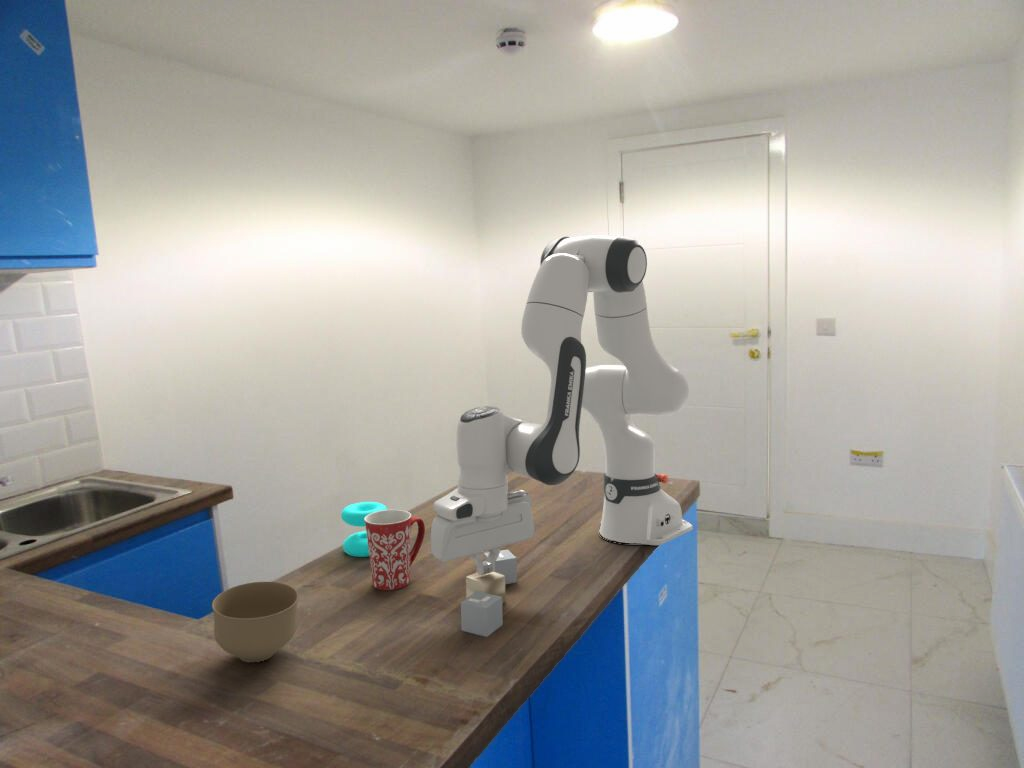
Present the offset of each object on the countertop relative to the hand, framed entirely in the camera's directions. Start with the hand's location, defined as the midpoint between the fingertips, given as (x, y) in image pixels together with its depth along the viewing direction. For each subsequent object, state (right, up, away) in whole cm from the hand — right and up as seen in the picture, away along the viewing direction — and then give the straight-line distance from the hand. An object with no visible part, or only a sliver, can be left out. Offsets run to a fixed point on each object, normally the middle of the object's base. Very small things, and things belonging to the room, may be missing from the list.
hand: (485, 572), depth 131 cm
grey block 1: (0, -7, -10) cm, 12 cm away
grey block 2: (+3, -4, +11) cm, 12 cm away
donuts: (-27, -3, +29) cm, 40 cm away
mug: (-17, -5, +11) cm, 21 cm away
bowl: (-35, -9, -18) cm, 40 cm away
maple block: (0, -6, 0) cm, 6 cm away
